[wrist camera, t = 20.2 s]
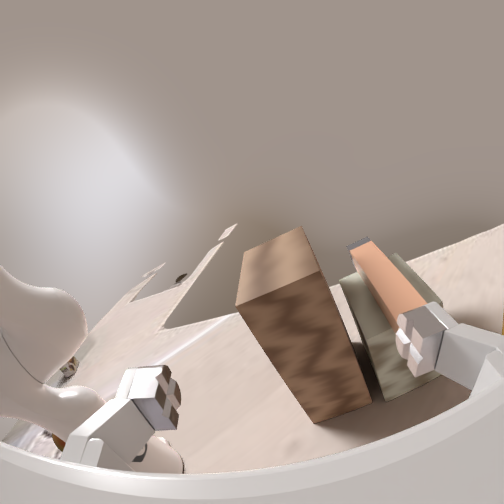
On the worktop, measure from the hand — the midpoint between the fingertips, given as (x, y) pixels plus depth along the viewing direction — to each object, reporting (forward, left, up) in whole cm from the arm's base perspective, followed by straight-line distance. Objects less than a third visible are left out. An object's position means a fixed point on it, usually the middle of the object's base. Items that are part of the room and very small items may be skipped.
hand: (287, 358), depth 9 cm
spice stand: (+3, +28, -34) cm, 44 cm away
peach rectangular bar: (+9, +26, -19) cm, 33 cm away
